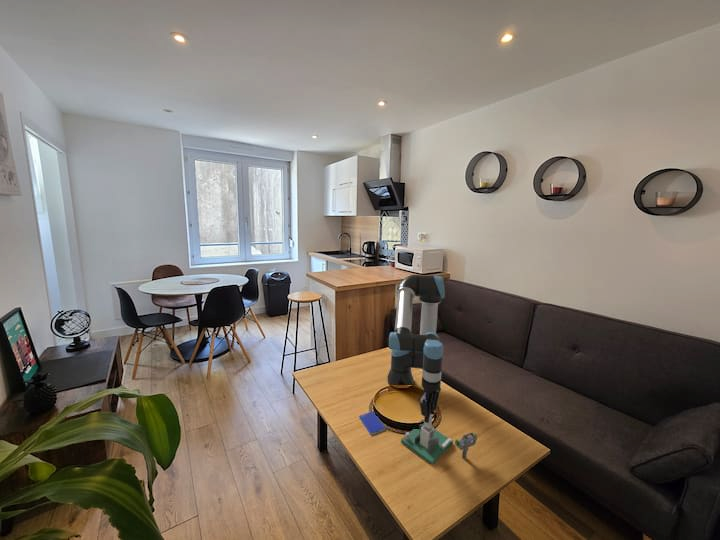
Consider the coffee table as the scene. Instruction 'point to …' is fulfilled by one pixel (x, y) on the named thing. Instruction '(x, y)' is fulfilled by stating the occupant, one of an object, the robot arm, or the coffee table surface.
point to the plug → (426, 436)
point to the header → (431, 445)
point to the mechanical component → (466, 443)
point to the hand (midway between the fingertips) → (427, 426)
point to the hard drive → (372, 423)
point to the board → (422, 451)
